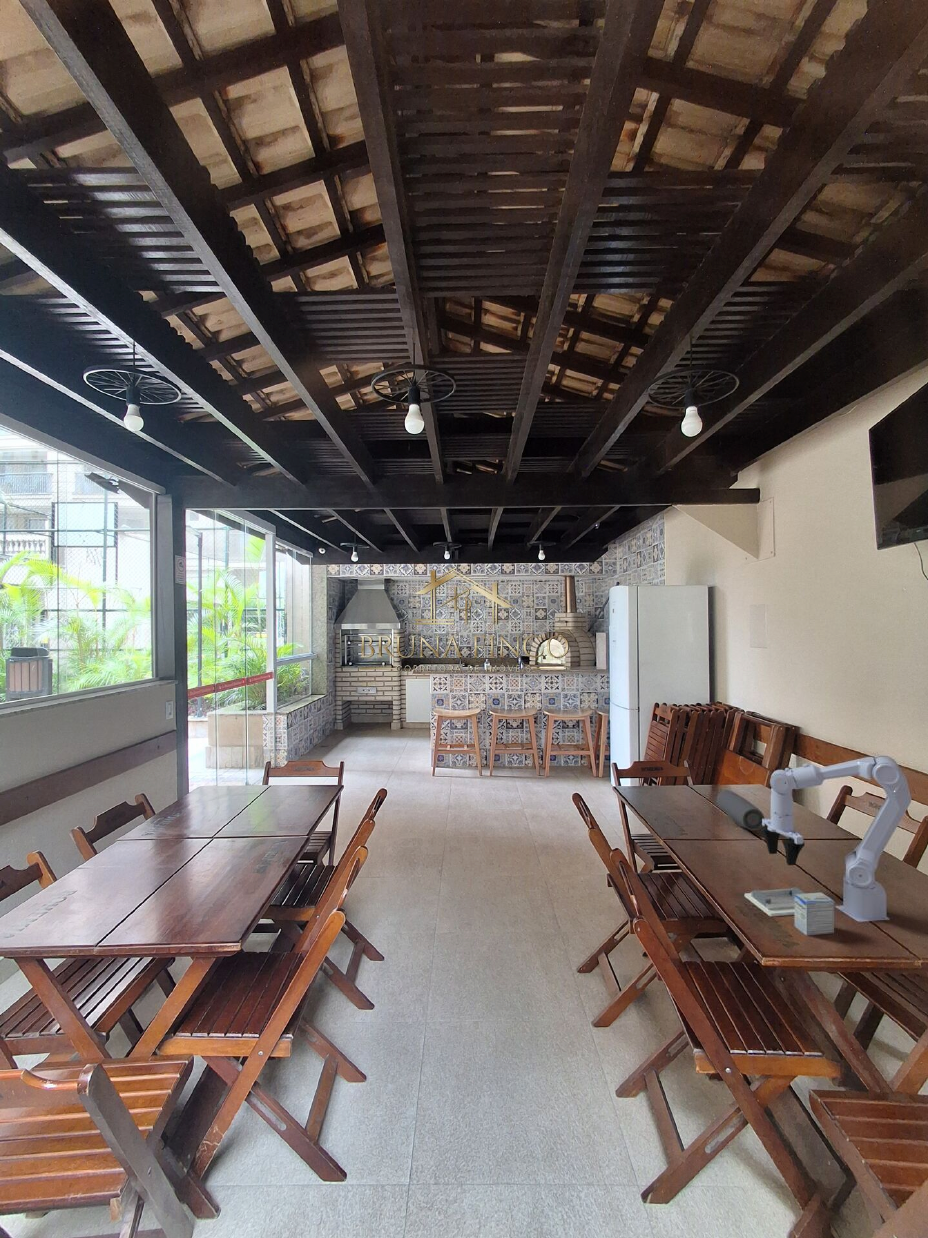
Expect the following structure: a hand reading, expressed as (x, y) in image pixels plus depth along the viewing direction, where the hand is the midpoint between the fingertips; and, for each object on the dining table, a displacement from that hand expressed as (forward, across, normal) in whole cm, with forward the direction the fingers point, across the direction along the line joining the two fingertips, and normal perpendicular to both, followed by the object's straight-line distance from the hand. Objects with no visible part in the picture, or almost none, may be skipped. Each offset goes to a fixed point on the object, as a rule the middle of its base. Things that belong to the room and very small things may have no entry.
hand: (781, 859), depth 161 cm
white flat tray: (+10, +5, -4) cm, 12 cm away
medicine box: (+11, +18, -5) cm, 21 cm away
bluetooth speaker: (+11, -54, +24) cm, 60 cm away
